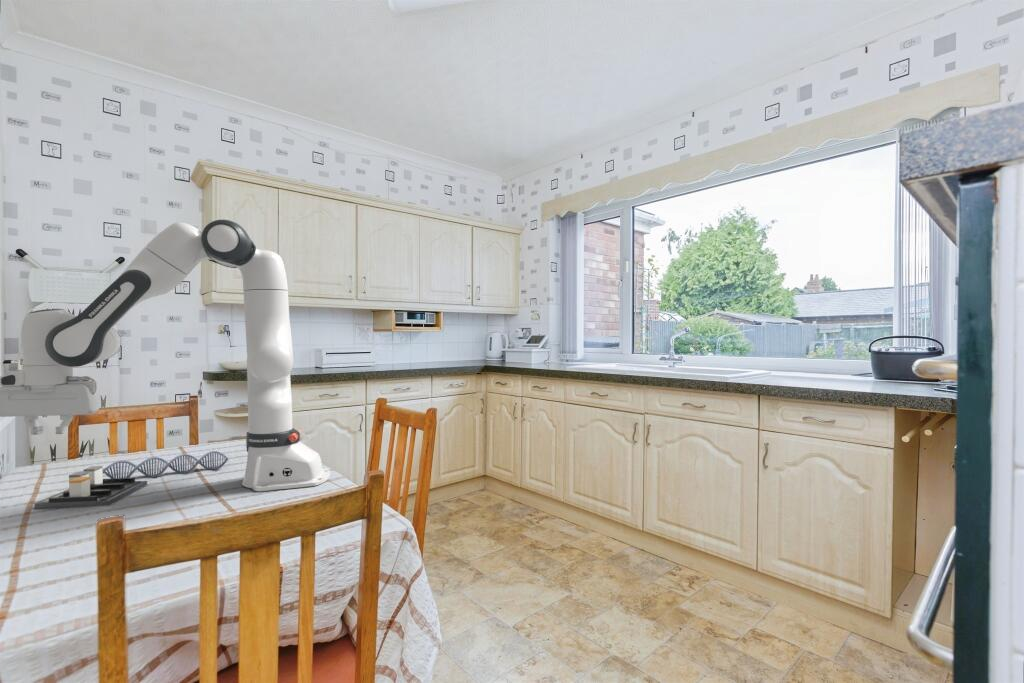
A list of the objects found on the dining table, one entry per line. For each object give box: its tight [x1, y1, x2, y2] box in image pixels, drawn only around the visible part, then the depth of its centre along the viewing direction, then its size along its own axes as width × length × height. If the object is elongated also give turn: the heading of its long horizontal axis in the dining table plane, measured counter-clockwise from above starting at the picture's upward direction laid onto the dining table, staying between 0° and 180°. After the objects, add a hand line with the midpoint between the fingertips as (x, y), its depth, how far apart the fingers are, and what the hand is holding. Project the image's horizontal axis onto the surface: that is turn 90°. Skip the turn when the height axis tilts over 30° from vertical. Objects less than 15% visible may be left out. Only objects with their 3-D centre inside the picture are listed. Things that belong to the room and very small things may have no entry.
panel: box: [34, 477, 148, 509], centre depth 123 cm, size 16×15×2 cm
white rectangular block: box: [68, 470, 89, 482], centre depth 123 cm, size 2×3×5 cm
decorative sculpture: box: [102, 450, 230, 479], centre depth 141 cm, size 6×31×6 cm, turn 119°
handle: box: [83, 465, 104, 484], centre depth 128 cm, size 2×3×5 cm
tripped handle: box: [68, 477, 90, 497], centre depth 118 cm, size 2×3×5 cm
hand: (49, 434), depth 117 cm, fingers open, 4 cm apart
